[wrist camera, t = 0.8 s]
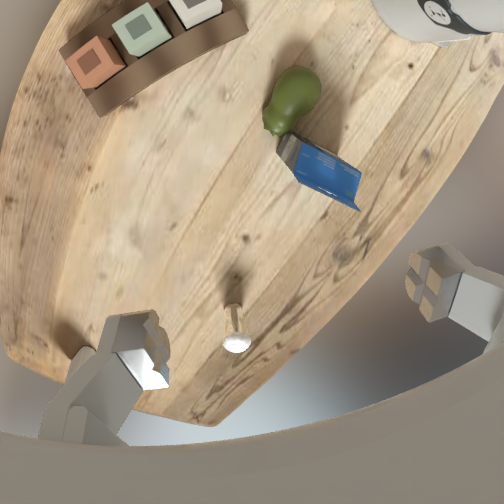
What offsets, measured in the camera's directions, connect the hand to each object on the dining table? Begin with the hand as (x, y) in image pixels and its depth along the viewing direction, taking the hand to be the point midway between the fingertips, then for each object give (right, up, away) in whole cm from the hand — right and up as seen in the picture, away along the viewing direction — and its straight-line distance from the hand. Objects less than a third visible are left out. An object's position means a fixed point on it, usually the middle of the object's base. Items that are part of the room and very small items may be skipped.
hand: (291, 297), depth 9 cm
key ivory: (-8, +30, +17) cm, 35 cm away
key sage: (-14, +27, +18) cm, 35 cm away
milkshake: (-5, -9, +46) cm, 47 cm away
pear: (+3, +22, +28) cm, 35 cm away
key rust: (-19, +24, +19) cm, 36 cm away
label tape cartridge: (+7, +15, +32) cm, 36 cm away
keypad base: (-14, +29, +20) cm, 38 cm away
